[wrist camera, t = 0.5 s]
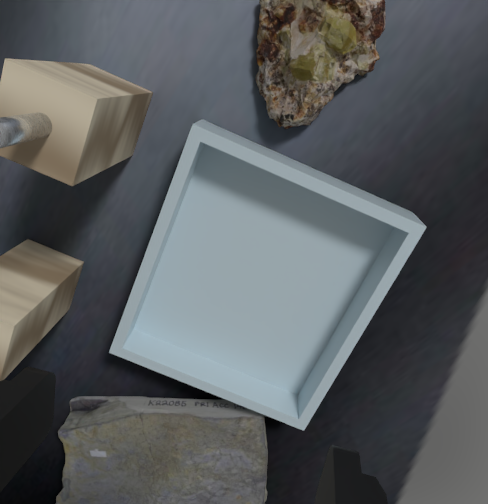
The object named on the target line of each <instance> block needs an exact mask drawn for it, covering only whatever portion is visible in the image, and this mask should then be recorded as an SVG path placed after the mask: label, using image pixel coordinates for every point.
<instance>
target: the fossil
mask: <svg viewBox="0 0 488 504" xmlns="http://www.w3.org/2000/svg"><path fill="white" fill-rule="evenodd" d="M70 408H71V412H70V414H69V416H68V417H67V419H66V421H65V424H64V425H62V426H61V428H60V429H59V431H58V436H59V438H60V440H61V441H62V443H63V445H64V450H65V465H64V468H63V478H62V482H63V487H64V488H63V489H62V490H61V492H60V493H59V494H58V495H57V496H56V504H264V503H265V501H266V499H267V490H266V480H267V458H268V450H267V441H266V430H265V421H264V415H263V414H261V413H258V412H256V411H253V410H251V409H248V408H246V407H243V406H241V405H238V404H236V403H233V402H231V401H228V400H212V399H177V398H148V397H137V396H131V397H126V396H121V397H104V396H82V397H76V398H73V399H71V401H70Z"/></svg>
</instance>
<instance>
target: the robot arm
mask: <svg viewBox="0 0 488 504" xmlns="http://www.w3.org/2000/svg"><path fill="white" fill-rule="evenodd" d="M55 382H56V378H55V374H54V373H52V372H48V371H44V370H40V369H36V368H32V367H26V368H25V369H23V370H22V371H21V372H20V373H19V374H18V375H17V376H15V377H14V378H13V379H12V380H11V381H8V380H2V381H0V492H1V491H2V490H3V488H4V487H5V486H6V485H7V484H8V482H9V481H10V480H11V479H12V478H13V476H14V475H15V474H16V473H17V472H18V470H19V469H20V468H21V467H22V466H23V464H24V463H25V462H26V461H27V460H28V458H29V457H30V456H31V455H32V454H33V452H34V451H35V450H36V449H37V448H38V446H39V445H40V444H41V443H42V442H43V440H44V439H45V438H46V436H47V434H48V432H49V430H50V428H51V425H52V421H53V414H54V398H55ZM315 504H388V502H387V496H386V493H385V492H384V490H383V488H382V487H381V485H380V484H379V482H378V480H377V479H376V477H373V476H369V475H366V474H362V472H361V464H360V456H359V452H357V451H353V450H349V449H345V448H341V447H337V446H333V445H331V446H330V448H329V451H328V454H327V458H326V461H325V465H324V468H323V471H322V475H321V478H320V482H319V485H318V489H317V493H316V498H315Z"/></svg>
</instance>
